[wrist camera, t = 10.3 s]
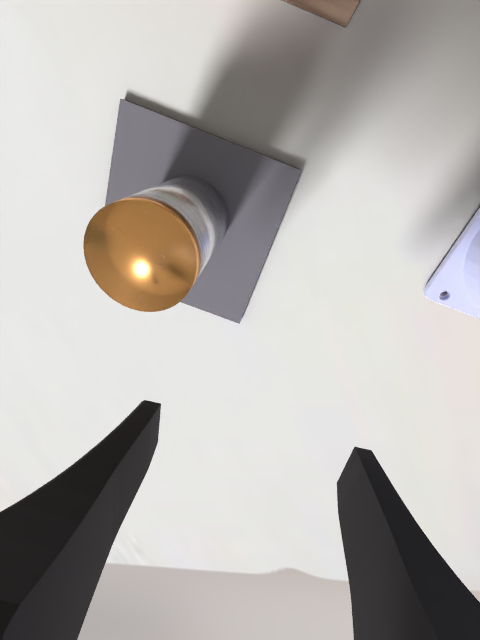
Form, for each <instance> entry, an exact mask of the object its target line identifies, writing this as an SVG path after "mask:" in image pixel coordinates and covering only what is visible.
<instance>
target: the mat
mask: <svg viewBox="0 0 480 640" xmlns="http://www.w3.org/2000/svg"><path fill="white" fill-rule="evenodd" d="M300 173H301V170H300V169H297V168H295V167H292V166H290V165H287V164H285V163H282V162H280V161H277V160H275V159H272V158H270V157H267V156H265V155H262V154H259V153H257V152H254V151H252V150H249V149H247V148H244V147H242V146H239V145H237V144H234V143H232V142H229V141H227V140H224V139H222V138H219V137H217V136H214V135H212V134H209V133H207V132H204V131H202V130H199V129H197V128H194V127H192V126H189V125H187V124H184V123H182V122H179V121H177V120H174V119H172V118H169V117H167V116H164V115H162V114H159V113H157V112H154V111H152V110H149V109H147V108H144V107H142V106H139V105H137V104H134V103H132V102H129V101H127V100H124V99H120V105H119V112H118V119H117V126H116V133H115V140H114V147H113V154H112V161H111V168H110V175H109V182H108V189H107V196H106V203H105V206H107V205H109V204H111V203H113V202H116V201H118V200H121V199H123V198H126V197H128V196H131V195H133V194H136V193H138V192H141V191H143V190H146V189H148V188H151V187H153V186H156V185H159V184H161V183H164V182H166V181H169V180H171V179H174V178H177V177H180V176H194V177H198V178H201V179H203V180H205V181H207V182H209V183H210V184H211V185H212V186H214V187H215V188H216V189H217V190H218V192H219V193H220V194H221V196H222V198H223V199H224V202H225V204H226V207H227V212H228V226H227V230H226V233H225V235H224V237H223V239H222V240H221V242H220V243H219V245H218V247H217V248H216V250H215V251H214V253H213V254H212V256H211V258H210V259H209V261H208V262H207V264H206V266H205V267H204V269H203V270H202V272H201V273H200V275H199V277H198V278H197V280H196V281H195V283H194V284H193V286H192V288H191V289H190V291H189V292H188V294H187V295H186V296H185V297H184V298H183V299H182V300H181V301H180V302H182V303H185V304H187V305H190V306H193V307H196V308H198V309H201V310H204V311H206V312H209V313H212V314H215V315H217V316H220V317H223V318H225V319H228V320H231V321H234V322H236V323H240V321H241V319H242V316H243V314H244V311H245V309H246V306H247V304H248V301H249V299H250V296H251V294H252V291H253V289H254V287H255V284H256V282H257V279H258V277H259V274H260V272H261V269H262V267H263V264H264V262H265V259H266V257H267V254H268V252H269V250H270V247H271V245H272V242H273V240H274V237H275V235H276V232H277V230H278V227H279V225H280V222H281V220H282V217H283V215H284V213H285V210H286V208H287V205H288V203H289V200H290V198H291V195H292V193H293V190H294V188H295V185H296V183H297V180H298V178H299V176H300Z"/></svg>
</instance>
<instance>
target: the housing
mask: <svg viewBox="0 0 480 640" xmlns="http://www.w3.org/2000/svg"><path fill="white" fill-rule="evenodd" d="M283 1H285V2H287V3H290V4H292V5H294V6H297V7H299V8H301V9H304V10H306V11H308V12H311V13H313V14H315V15H318V16H320V17H322V18H325V19H327V20H329V21H332V22H334V23H336V24H339V25H341V26H343V27H346V26H347V24H348V22H349V20H350V18H351V16H352V15H353V13H354V11H355V9H356V7H357V5H358V3H359V1H360V0H283Z"/></svg>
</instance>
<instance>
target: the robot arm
mask: <svg viewBox="0 0 480 640" xmlns="http://www.w3.org/2000/svg"><path fill="white" fill-rule="evenodd" d="M444 291H447V294H446V295H445V296H444V297H439V296H440V294H441V293H442V292H444ZM424 294H425V296H426V297H427V298H428V299H429V300H431V301H434V302H437V303H439V304H442V305H444V306H447V307H450V308H452V309H455V310H457V311H460V312H463V313H465V314H468V315H470V316H473V317H476V318H478V319H480V208H479V209H478V211H477V212H476V213H475V215H474V216H473V218H472V219H471V221H470V222H469V224H468V225H467V227H466V228H465V230H464V231H463V232H462V234H461V235H460V237H459V238H458V240H457V241H456V243H455V244H454V246H453V247H452V248H451V250H450V251H449V253H448V254H447V256H446V257H445V259H444V260H443V262H442V263H441V265H440V266H439V267H438V269H437V270H436V272H435V273H434V275H433V276H432V278H431V279H430V281H429V282H428V283H427V285H426V286H425V289H424ZM160 409H161V404H160V403H155V402H151V401H146V400H144V401H142V402H141V403H140V404H139V405H138V406H137V407H136V409H135V410H134V411H133V412H132V413H131V414H130V415H129V416H128V417H127V418H126V419H125V420H124V421H123V422H122V423H121V424H120V425H119V426H117V427H116V428H115V429H114V430H113V431H112V432H111V433H110V434H109V435H108V436H107V437H105V438H104V439H103V440H102V441H101V442H100V443H99V444H98V445H96V446H95V447H94V448H93V449H91V450H90V451H89V452H88V453H87V454H85V455H84V456H83V457H82V458H81V459H79V460H78V461H77V462H75V463H74V464H73V465H72V466H70V467H69V468H68V469H66V470H65V471H64V472H62V473H61V474H59V475H58V476H57V477H55V478H54V479H52V480H51V481H49V482H48V483H46V484H45V485H43V486H42V487H40V488H39V489H37V490H36V491H34V492H33V493H31V494H30V495H28V496H27V497H25V498H23V499H22V500H20V501H18V502H17V503H15V504H13V505H12V506H10V507H8V508H6V509H5V510H3V511H1V512H0V640H77V638H78V635H79V633H80V630H81V627H82V624H83V621H84V619H85V616H86V613H87V610H88V608H89V605H90V602H91V600H92V597H93V594H94V592H95V589H96V586H97V583H98V581H99V578H100V575H101V573H102V570H103V568H104V565H105V562H106V560H107V557H108V555H109V552H110V549H111V547H112V544H113V542H114V540H115V537H116V535H117V533H118V530H119V528H120V526H121V524H122V522H123V520H124V518H125V516H126V514H127V512H128V510H129V508H130V506H131V504H132V502H133V499H134V497H135V495H136V493H137V491H138V489H139V487H140V485H141V483H142V481H143V479H144V477H145V475H146V472H147V470H148V468H149V465H150V463H151V460H152V457H153V454H154V451H155V449H156V446H157V443H158V433H159V421H160ZM337 498H338V514H339V521H340V527H341V534H342V540H343V546H344V553H345V559H346V565H347V571H348V578H349V584H350V593H351V602H352V616H353V629H354V640H480V602H479V601H478V600H477V599H476V598H475V597H474V595H472V593H471V592H470V591H469V590H468V589H467V587H466V586H465V585H464V584H463V583H462V582H461V580H460V579H459V578H458V577H457V575H456V574H455V573H454V572H453V570H452V569H451V568H450V567H449V565H448V564H447V563H446V562H445V560H444V559H443V558H442V557H441V555H440V554H439V553H438V551H437V550H436V549H435V547H434V546H433V545H432V543H431V542H430V541H429V539H428V538H427V536H426V535H425V534H424V532H423V531H422V529H421V528H420V527H419V525H418V524H417V522H416V521H415V519H414V518H413V516H412V515H411V513H410V512H409V510H408V509H407V507H406V506H405V504H404V503H403V501H402V499H401V498H400V496H399V495H398V493H397V492H396V490H395V488H394V487H393V485H392V484H391V482H390V480H389V479H388V477H387V475H386V474H385V472H384V470H383V469H382V467H381V465H380V464H379V462H378V460H377V459H376V457H375V456H374V454H373V452H372V451H371V450H367V449H362V448H358V447H354V449H353V451H352V453H351V455H350V457H349V459H348V461H347V463H346V465H345V468H344V470H343V472H342V474H341V476H340V478H339V480H338V482H337Z"/></svg>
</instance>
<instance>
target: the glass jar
mask: <svg viewBox="0 0 480 640" xmlns="http://www.w3.org/2000/svg"><path fill="white" fill-rule="evenodd" d="M227 226H228V212H227V207H226V204H225V202H224V199H223V198H222V196H221V194H220V193H219V192H218V190H217V189H216V188H215V187H214V186H212V185H211V184H210V183H209V182H207V181H205V180H203V179H201V178H198V177H194V176H180V177H177V178H174V179H171V180H169V181H166V182H164V183H161V184H159V185H156V186H153V187H151V188H148V189H146V190H143V191H141V192H138V193H136V194H133V195H131V196H128V197H126V198H123V199H121V200H118V201H116V202H113V203H111V204H109V205H107V206H105V207H103V208H102V209H100V210H99V211H98V212H97V213H96V214H95V215H94V216H93V218H92V219H91V220H90V222H89V224H88V226H87V229H86V232H85V236H84V255H85V260H86V263H87V266H88V269H89V271H90V273H91V275H92V277H93V278H94V280H95V281H96V283H97V284H98V285H99V287H100V288H101V289H102V290H103V291H104V292H105V293H106V294H107V295H108V296H110V297H111V298H112V299H114V300H115V301H116V302H118V303H120V304H122V305H124V306H126V307H128V308H131V309H134V310H138V311H144V312H155V311H161V310H165V309H168V308H171V307H172V306H174V305H176V304H177V303H179V302H180V301H181V300H182V299H183V298H184V297H185V296H186V295H187V294H188V292H189V291H190V289H191V288H192V286H193V284H194V283H195V281H196V280H197V278H198V277H199V275H200V273H201V272H202V270H203V269H204V267H205V266H206V264H207V262H208V261H209V259H210V258H211V256H212V254H213V253H214V251H215V250H216V248H217V247H218V245H219V243H220V242H221V240H222V239H223V237H224V235H225V233H226V230H227Z"/></svg>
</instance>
